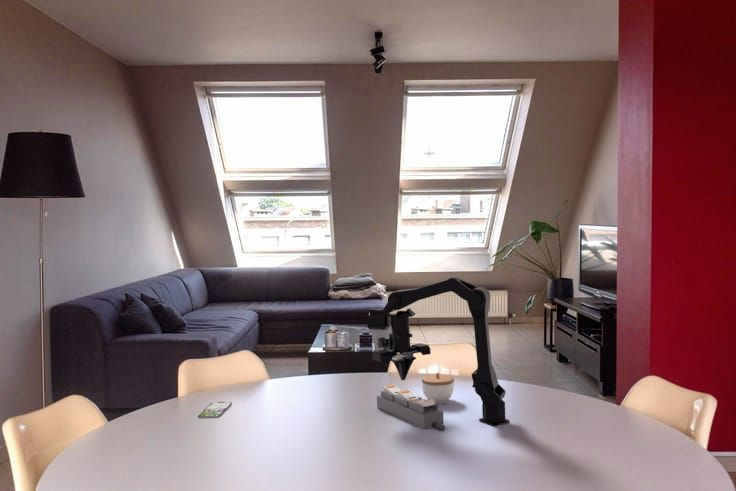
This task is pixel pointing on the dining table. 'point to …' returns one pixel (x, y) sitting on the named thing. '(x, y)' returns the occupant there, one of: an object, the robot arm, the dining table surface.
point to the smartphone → (215, 410)
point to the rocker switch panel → (411, 411)
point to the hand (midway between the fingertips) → (403, 379)
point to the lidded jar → (438, 387)
